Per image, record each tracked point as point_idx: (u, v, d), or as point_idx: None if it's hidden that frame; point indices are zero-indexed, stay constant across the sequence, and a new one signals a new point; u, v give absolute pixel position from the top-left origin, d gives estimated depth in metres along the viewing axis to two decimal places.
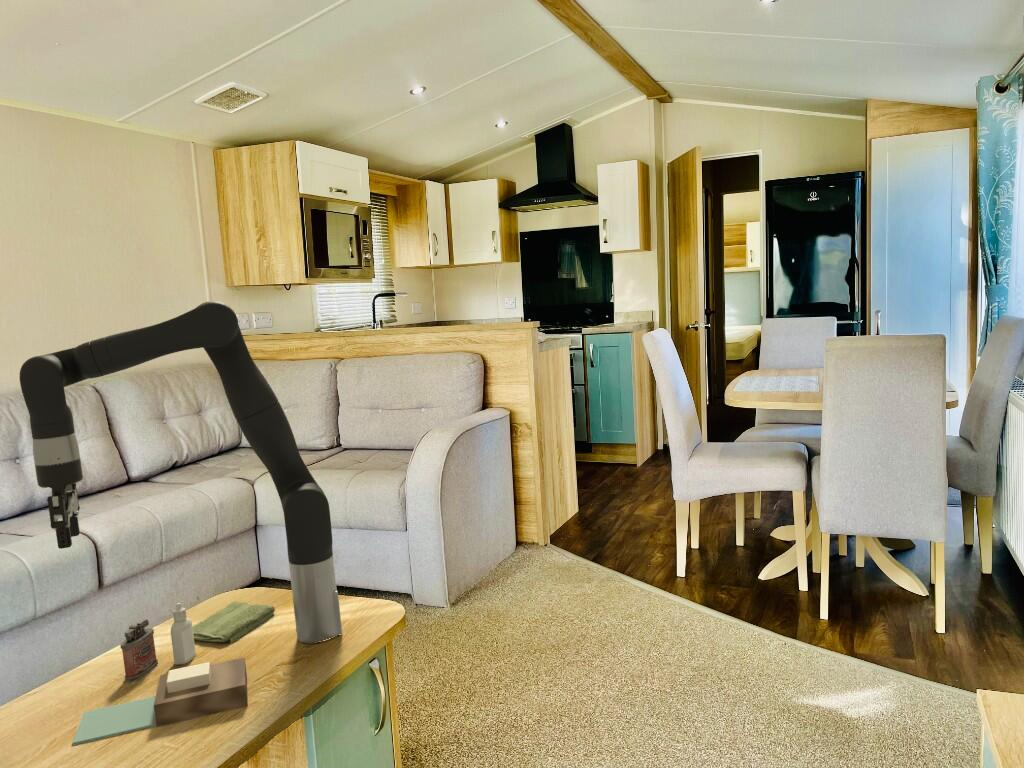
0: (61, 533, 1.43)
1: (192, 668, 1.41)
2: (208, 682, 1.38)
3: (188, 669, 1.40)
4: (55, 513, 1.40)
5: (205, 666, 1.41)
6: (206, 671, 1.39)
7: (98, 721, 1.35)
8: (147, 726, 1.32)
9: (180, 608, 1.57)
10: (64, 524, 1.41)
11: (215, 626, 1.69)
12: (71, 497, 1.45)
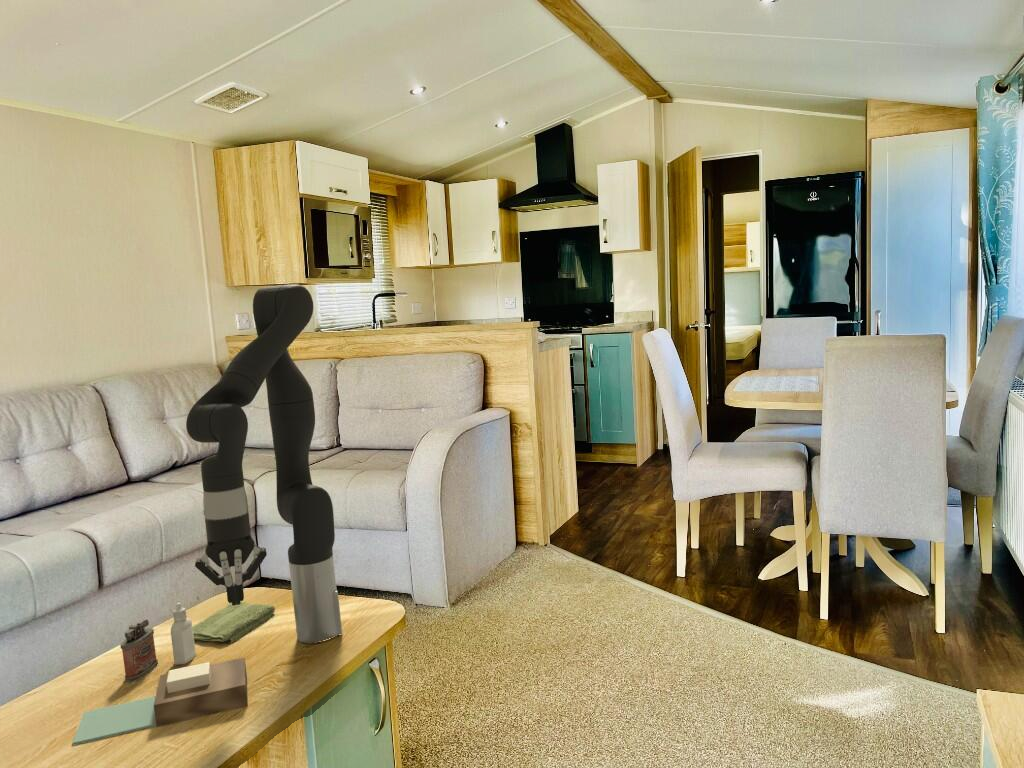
0: None
1: (192, 668, 1.41)
2: (208, 682, 1.38)
3: (188, 669, 1.40)
4: None
5: (205, 666, 1.41)
6: (206, 671, 1.39)
7: (98, 721, 1.35)
8: (147, 726, 1.32)
9: (180, 608, 1.57)
10: None
11: (215, 626, 1.69)
12: None
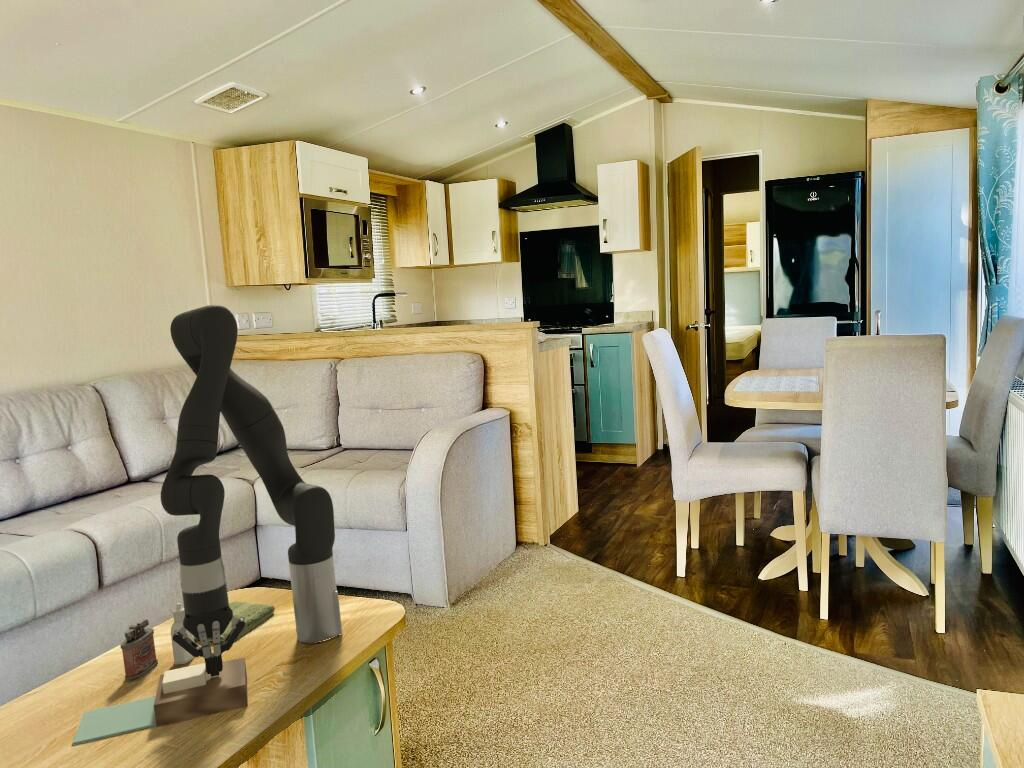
0: None
1: (188, 668, 1.40)
2: (204, 683, 1.38)
3: (184, 670, 1.40)
4: None
5: (201, 667, 1.41)
6: (202, 672, 1.38)
7: (98, 721, 1.35)
8: (147, 726, 1.32)
9: (180, 608, 1.57)
10: None
11: None
12: None
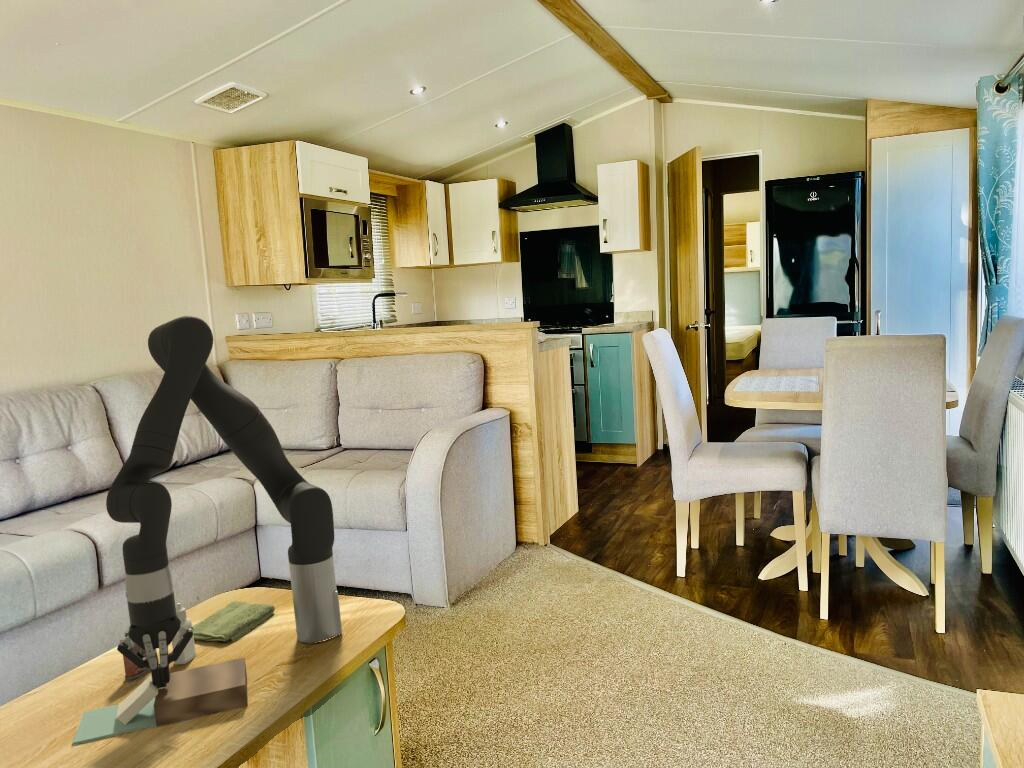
0: None
1: (136, 690, 1.37)
2: (155, 693, 1.35)
3: (133, 694, 1.37)
4: None
5: (147, 682, 1.37)
6: (148, 686, 1.35)
7: (98, 721, 1.35)
8: (147, 726, 1.32)
9: (180, 608, 1.57)
10: None
11: (216, 625, 1.70)
12: None
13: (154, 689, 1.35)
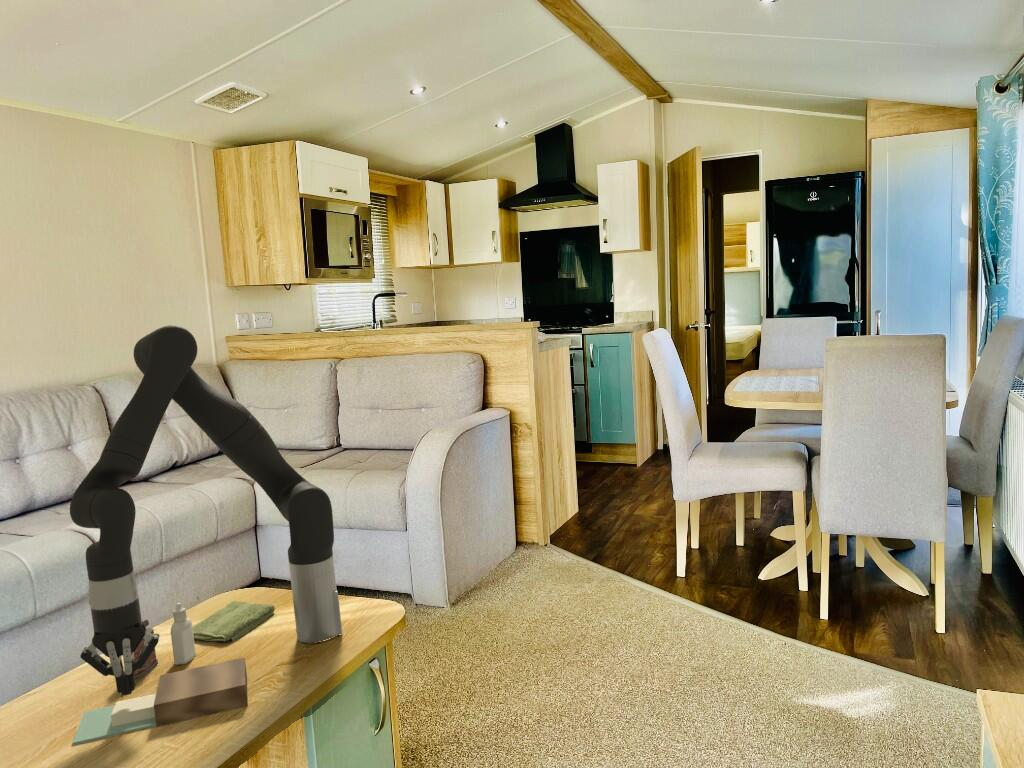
0: None
1: (139, 699, 1.38)
2: (154, 715, 1.35)
3: (135, 701, 1.37)
4: None
5: (153, 698, 1.38)
6: (153, 704, 1.35)
7: (98, 721, 1.35)
8: (147, 726, 1.32)
9: (180, 608, 1.57)
10: None
11: (216, 625, 1.70)
12: None
13: None
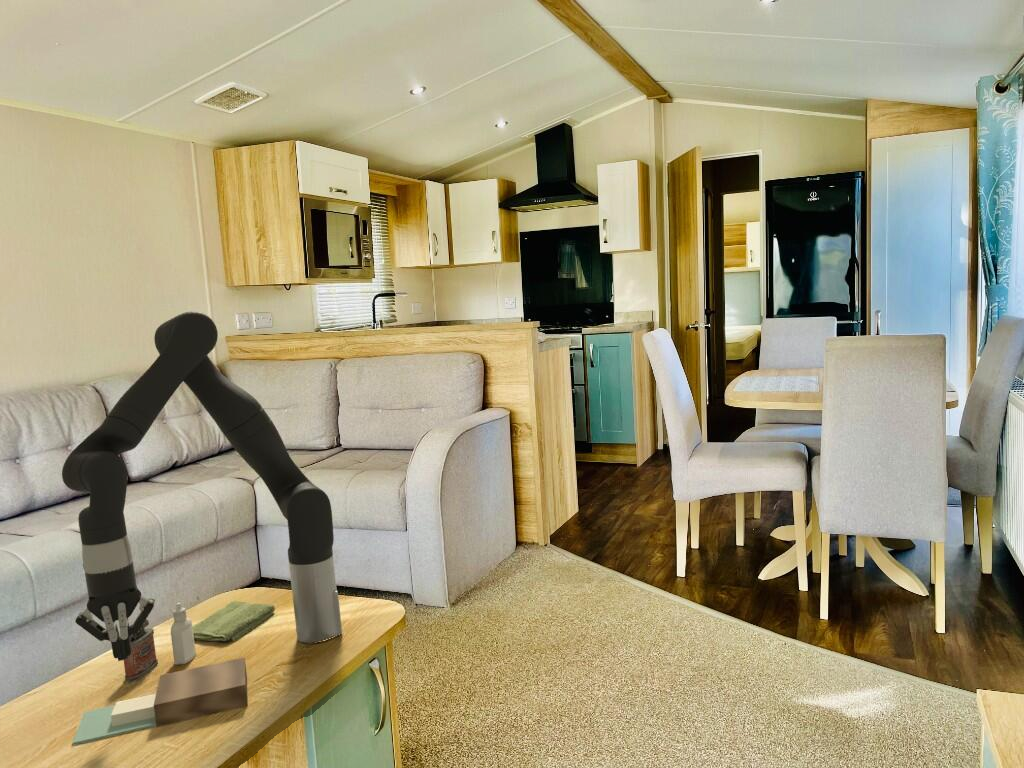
0: None
1: (139, 699, 1.38)
2: (154, 715, 1.35)
3: (135, 701, 1.37)
4: None
5: (153, 698, 1.38)
6: (153, 704, 1.35)
7: (98, 721, 1.35)
8: (147, 726, 1.32)
9: (180, 608, 1.57)
10: None
11: (216, 625, 1.70)
12: None
13: None
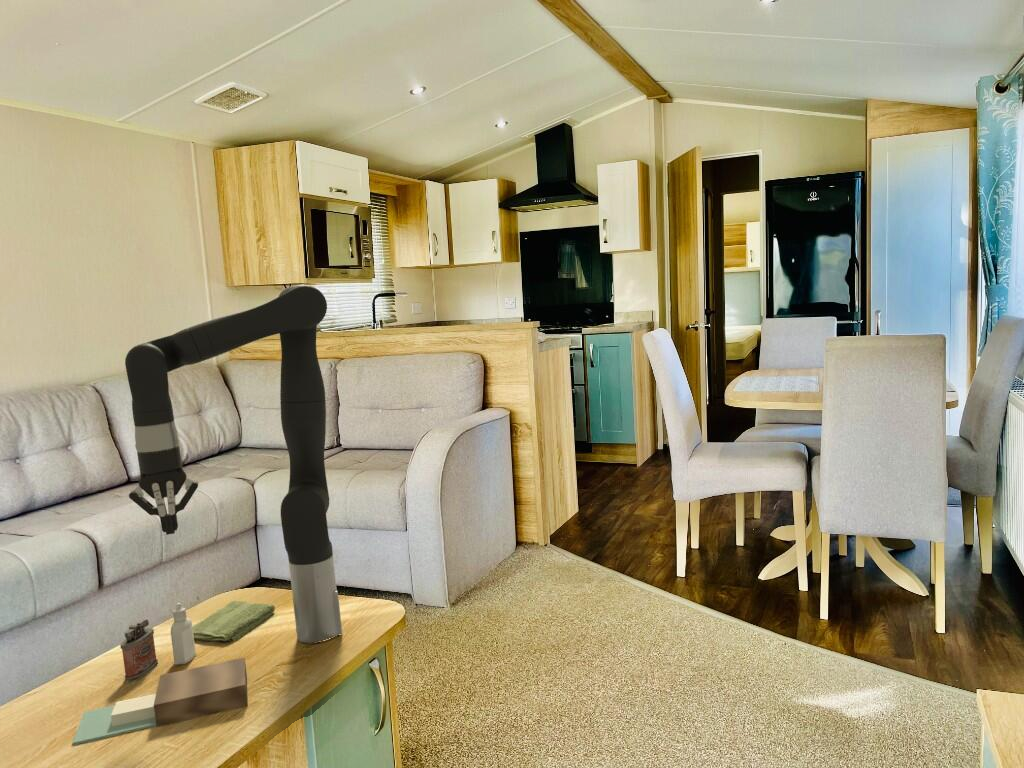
0: None
1: (139, 699, 1.38)
2: (154, 715, 1.35)
3: (135, 701, 1.37)
4: None
5: (153, 698, 1.38)
6: (153, 704, 1.35)
7: (98, 721, 1.35)
8: (147, 726, 1.32)
9: (180, 608, 1.57)
10: None
11: (216, 625, 1.70)
12: None
13: None
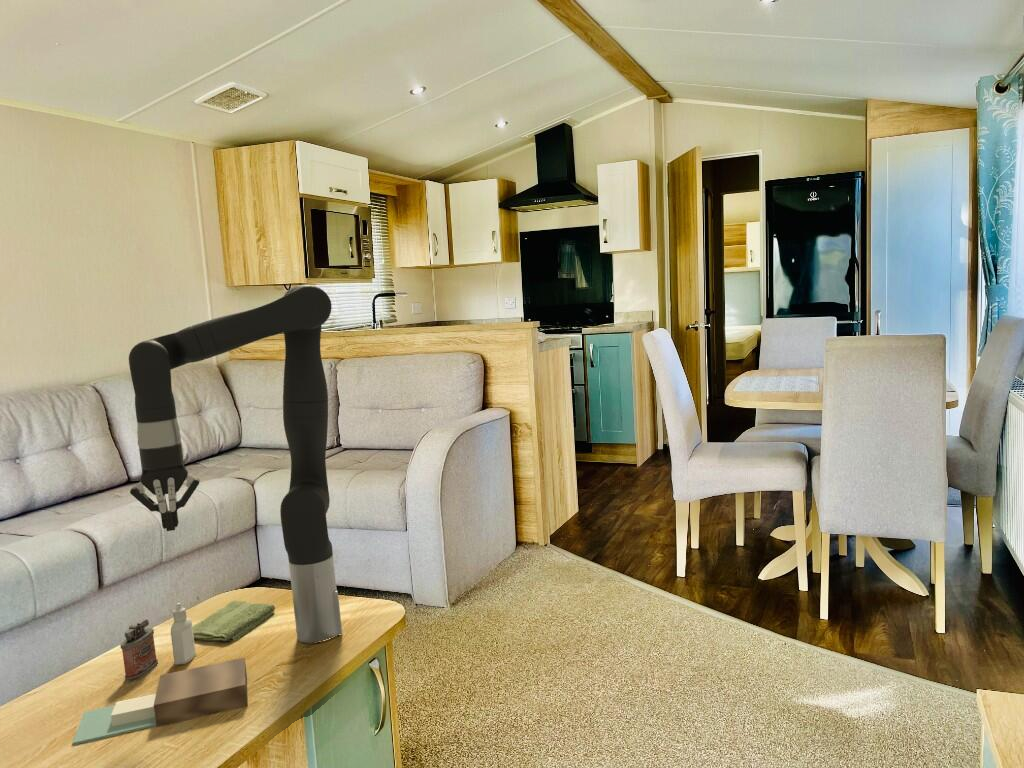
0: None
1: (139, 699, 1.38)
2: (154, 715, 1.35)
3: (135, 701, 1.37)
4: None
5: (153, 698, 1.38)
6: (153, 704, 1.35)
7: (98, 721, 1.35)
8: (147, 726, 1.32)
9: (180, 608, 1.57)
10: None
11: (216, 625, 1.70)
12: None
13: None
